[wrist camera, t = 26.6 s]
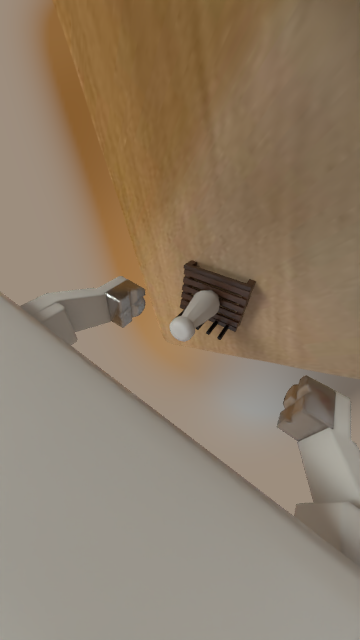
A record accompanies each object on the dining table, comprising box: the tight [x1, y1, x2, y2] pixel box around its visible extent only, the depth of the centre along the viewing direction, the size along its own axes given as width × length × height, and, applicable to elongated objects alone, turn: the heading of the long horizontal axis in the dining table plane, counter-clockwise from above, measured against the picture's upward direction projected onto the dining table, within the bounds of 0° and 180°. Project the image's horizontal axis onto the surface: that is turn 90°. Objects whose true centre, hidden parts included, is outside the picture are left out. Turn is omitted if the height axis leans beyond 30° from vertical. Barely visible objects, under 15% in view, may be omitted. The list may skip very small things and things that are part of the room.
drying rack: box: [177, 260, 256, 340], centre depth 41 cm, size 11×14×7 cm
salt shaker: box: [170, 290, 220, 341], centre depth 37 cm, size 6×6×13 cm
